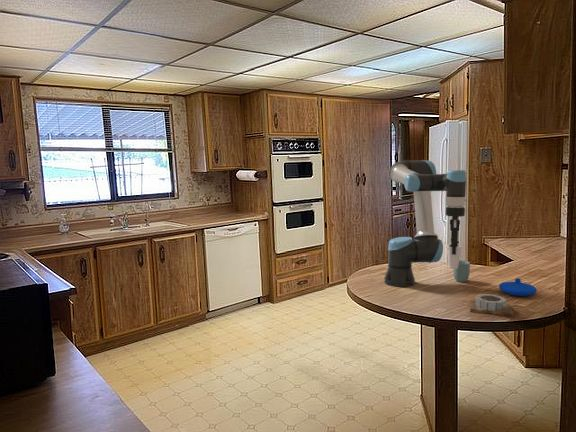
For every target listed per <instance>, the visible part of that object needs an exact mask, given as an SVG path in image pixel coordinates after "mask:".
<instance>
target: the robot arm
mask: <svg viewBox="0 0 576 432" xmlns="http://www.w3.org/2000/svg"><path fill="white" fill-rule="evenodd" d="M388 175H389V179H390V180H391V181H393V182H394V183H397V184H403V186H404V188H405V190H406V192H413V201H414V202H413V203H414V213H415V225H416V226H415V227H416V234H415V235H414V237H413V238H414V239H413V238H412V237H411V236H399V237H394V238H391V239H390V240H389V241H388V249H387V250H388V260H387V261H388V262H387V263H388V266H387V270H386V273H385V275H384V284H385V285H388V286H393V287H401V288H402V287H404V288H405V287H411V286H414V285H415V283H416V281H415V279H416V278H415V275H414V272H413V269H412V267H413V264H416V263H418V264H420V263H422V264H423V263H428V264H431V263H438V262H439V261H440V260H441V259H442V257H443V253H444V252H443V251H444V244H443V240H442V239H439V236H438V234H436V233H435V226H434V225H435V224H434V215H433V206H432V205H433V204H432V203H433V201H432V192H446V198H445V206H446V207H445V216H447V217H451V219H449V226H450V231H451V232H450V234H451V235H450V244H451V245H449V244H448V245H449V247H451V252H450V262H457V249H458V247H457V246H458V245H459V243H460V242H459V240H458V239H459V237H458V236H459V231H460V225H461V220H460V219H459V217H460V218H461V217H465V215H466V214H465V213H466V212H465V211H466V208H465V206H466V202H467V201H468V199H467V198H466V190H467V189H466V188H467V171H466V170H464V169H449V170H448V171H447V173H440V174H439V173H437V169H436V165H435V163H434V162H432V161H431V160H425V159H422V160H400V161H397V162H395V163H394V164H392V165H391V167H389V170H388Z"/></svg>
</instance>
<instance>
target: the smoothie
mask: <svg viewBox="0 0 576 432" xmlns="http://www.w3.org/2000/svg"><path fill="white" fill-rule="evenodd" d="M449 245H451V243H450V244H446V245H445V248H446V252H447V253H446V254H447V264H448V269H453V270H454V269H457V268H458V264H459V260H460V257H461V252H462V249H463V246H462V244H461V245H460V244H458V246H457V247H458V249H457V262H450V252H451V247H449Z"/></svg>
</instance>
